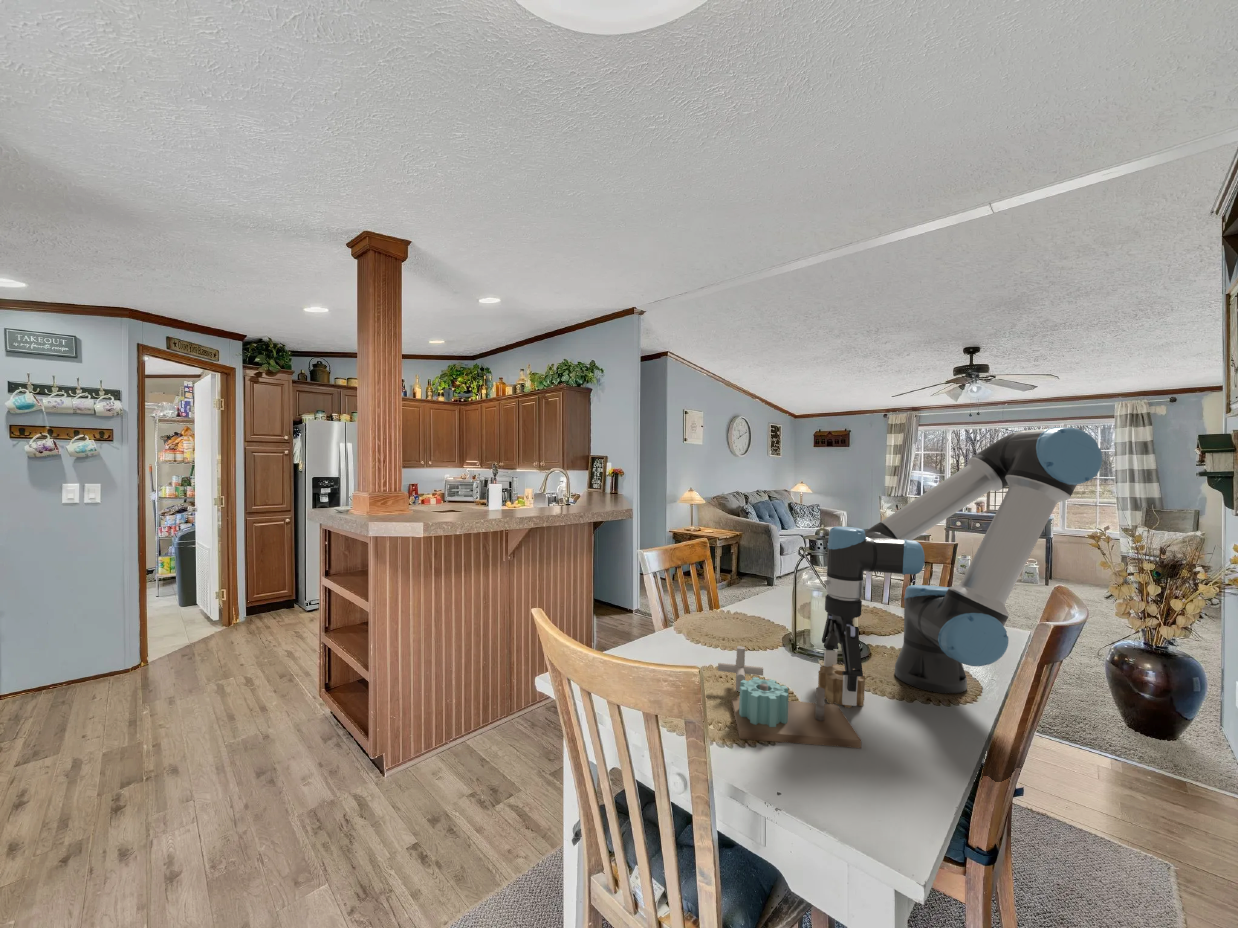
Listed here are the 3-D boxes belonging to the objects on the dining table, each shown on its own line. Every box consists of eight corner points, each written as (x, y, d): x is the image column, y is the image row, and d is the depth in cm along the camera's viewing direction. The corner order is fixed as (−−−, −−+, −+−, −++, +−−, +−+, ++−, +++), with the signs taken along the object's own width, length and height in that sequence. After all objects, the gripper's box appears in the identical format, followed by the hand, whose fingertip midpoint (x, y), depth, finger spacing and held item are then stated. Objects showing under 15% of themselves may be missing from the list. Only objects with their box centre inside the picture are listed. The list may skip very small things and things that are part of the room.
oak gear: (855, 689, 120) (856, 665, 120) (871, 709, 111) (872, 683, 111) (813, 686, 121) (813, 663, 121) (825, 705, 112) (825, 680, 112)
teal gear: (776, 702, 109) (777, 676, 109) (796, 726, 100) (797, 697, 100) (732, 703, 108) (733, 677, 108) (748, 727, 99) (749, 699, 99)
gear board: (836, 711, 109) (837, 676, 109) (860, 748, 96) (862, 707, 95) (731, 703, 112) (732, 669, 112) (739, 738, 98) (740, 699, 98)
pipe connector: (764, 703, 112) (765, 657, 112) (717, 698, 114) (718, 653, 114) (760, 684, 122) (761, 642, 122) (717, 679, 124) (718, 638, 124)
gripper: (811, 581, 129) (807, 666, 129) (844, 611, 104) (839, 715, 104) (842, 584, 128) (838, 669, 128) (883, 613, 103) (878, 719, 103)
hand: (838, 690), depth 116 cm, fingers open, 13 cm apart
